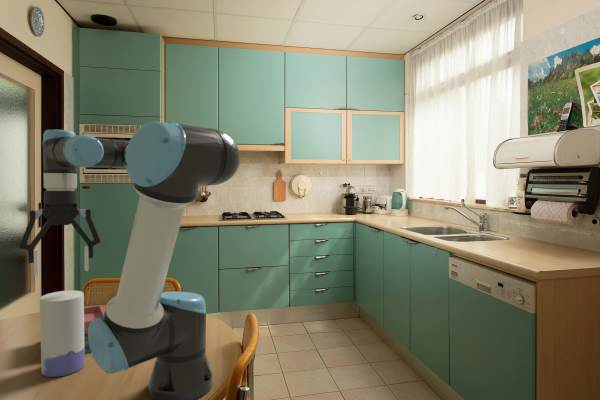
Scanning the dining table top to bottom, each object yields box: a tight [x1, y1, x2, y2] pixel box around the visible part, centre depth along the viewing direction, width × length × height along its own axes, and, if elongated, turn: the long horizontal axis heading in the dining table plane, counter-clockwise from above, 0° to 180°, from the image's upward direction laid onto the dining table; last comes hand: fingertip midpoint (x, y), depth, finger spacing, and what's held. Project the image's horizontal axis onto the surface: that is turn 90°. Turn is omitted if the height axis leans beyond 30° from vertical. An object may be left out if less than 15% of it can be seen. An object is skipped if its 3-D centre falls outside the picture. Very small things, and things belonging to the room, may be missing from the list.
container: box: [39, 290, 86, 378], centre depth 107 cm, size 10×10×20 cm
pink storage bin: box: [84, 304, 105, 334], centre depth 123 cm, size 15×15×6 cm
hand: (62, 272), depth 106 cm, fingers open, 11 cm apart
